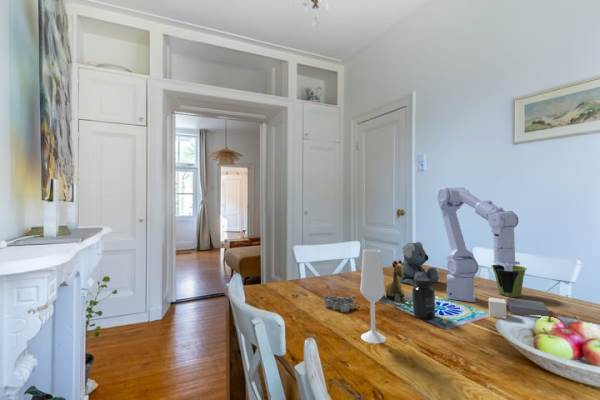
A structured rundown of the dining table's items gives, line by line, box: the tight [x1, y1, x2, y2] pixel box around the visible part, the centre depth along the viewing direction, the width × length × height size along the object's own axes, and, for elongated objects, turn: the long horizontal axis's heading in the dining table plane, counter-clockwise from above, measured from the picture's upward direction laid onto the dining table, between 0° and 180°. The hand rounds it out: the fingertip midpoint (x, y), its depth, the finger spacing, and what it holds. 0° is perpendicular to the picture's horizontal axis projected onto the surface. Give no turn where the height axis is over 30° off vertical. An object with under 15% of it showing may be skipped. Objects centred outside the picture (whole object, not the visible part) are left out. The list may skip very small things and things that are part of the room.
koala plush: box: [399, 241, 439, 287], centre depth 141 cm, size 17×18×20 cm
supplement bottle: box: [411, 278, 436, 320], centre depth 97 cm, size 7×7×12 cm
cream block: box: [488, 297, 507, 319], centre depth 96 cm, size 4×4×5 cm
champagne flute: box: [359, 248, 387, 344], centre depth 81 cm, size 7×7×24 cm
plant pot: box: [490, 264, 528, 298], centre depth 119 cm, size 12×12×11 cm
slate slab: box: [506, 297, 550, 317], centre depth 100 cm, size 10×10×3 cm
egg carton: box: [322, 294, 356, 313], centre depth 106 cm, size 11×8×4 cm
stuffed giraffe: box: [378, 259, 413, 307], centre depth 116 cm, size 16×18×16 cm
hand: (505, 289), depth 96 cm, fingers open, 7 cm apart
